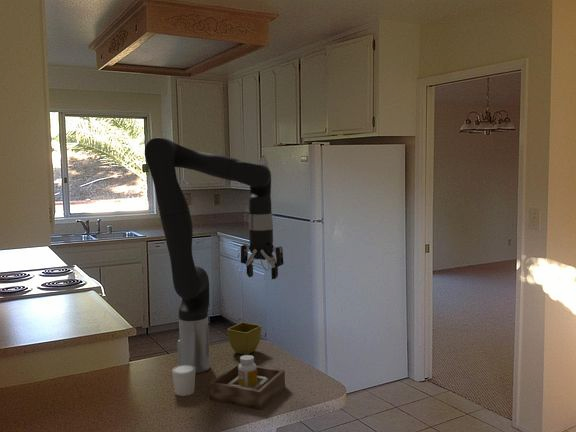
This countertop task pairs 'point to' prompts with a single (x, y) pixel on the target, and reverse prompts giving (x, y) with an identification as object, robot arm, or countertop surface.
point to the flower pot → (244, 337)
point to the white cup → (184, 379)
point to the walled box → (256, 397)
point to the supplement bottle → (247, 372)
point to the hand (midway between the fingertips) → (262, 277)
